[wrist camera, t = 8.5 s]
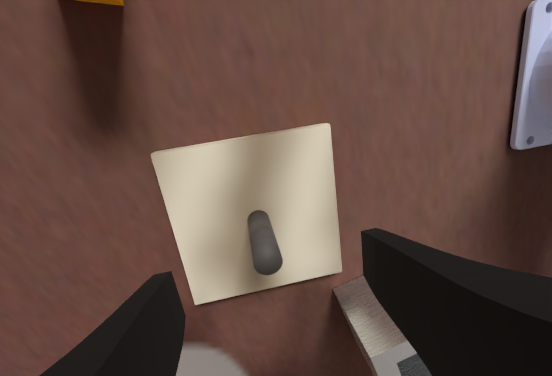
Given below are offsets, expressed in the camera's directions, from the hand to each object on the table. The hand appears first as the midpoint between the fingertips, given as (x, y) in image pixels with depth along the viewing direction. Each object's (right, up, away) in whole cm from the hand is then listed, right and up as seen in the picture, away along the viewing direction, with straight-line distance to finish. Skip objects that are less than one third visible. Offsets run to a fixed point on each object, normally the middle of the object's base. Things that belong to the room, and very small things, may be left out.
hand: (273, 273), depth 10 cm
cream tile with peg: (-1, +2, +5) cm, 6 cm away
